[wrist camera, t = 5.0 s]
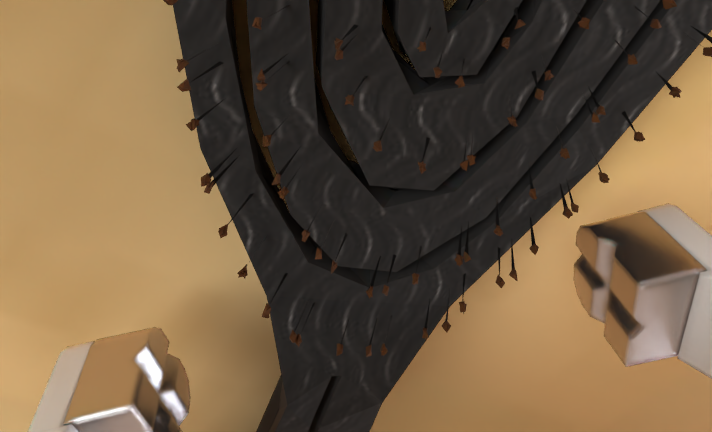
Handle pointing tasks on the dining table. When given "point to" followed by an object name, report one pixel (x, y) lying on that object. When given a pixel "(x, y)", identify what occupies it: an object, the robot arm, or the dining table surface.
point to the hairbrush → (407, 160)
